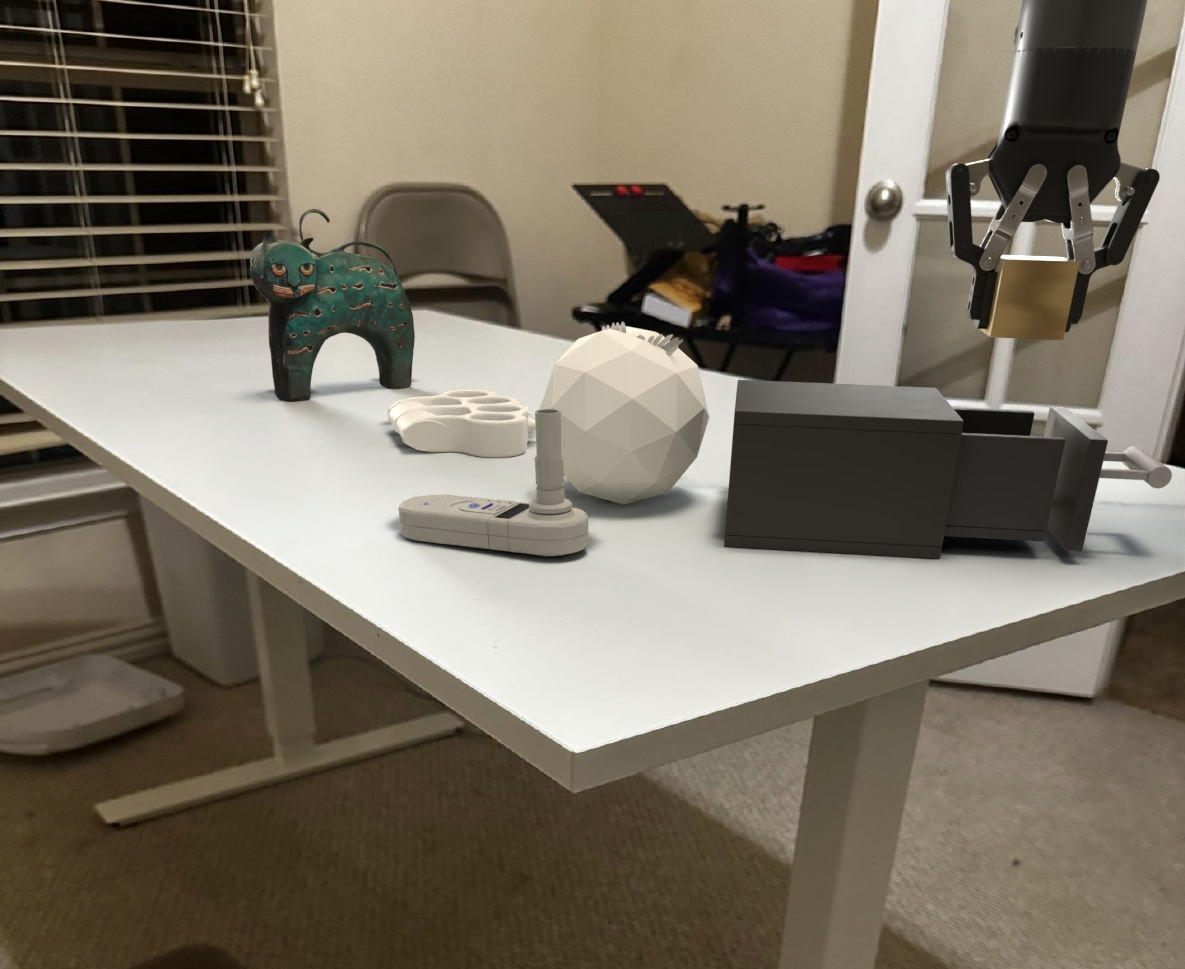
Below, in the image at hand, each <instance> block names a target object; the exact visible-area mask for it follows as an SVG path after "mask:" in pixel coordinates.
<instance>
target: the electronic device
mask: <svg viewBox="0 0 1185 969" xmlns="http://www.w3.org/2000/svg"><path fill="white" fill-rule="evenodd" d="M534 420H535V428H536V430H535V453H536V454H535V455H536V456H535V457H534V476H535V478H534V479H535V485H536V487H535V490H536V491H535V492H536V494H535V495H536V496H535V497H536V498H534V499H533V500H531V501H530V502H526V501H514V500H505V499H495V498H485V497H473V496H467V495H466V496H465V495H464V496H463V495H454V494H445V493H444V494H442V493H438V494H437V493H436V494H427V495H417V496H413V497H409V498H407V499H405V500H403V501H401V503H399V504H398V507H397V508H398V520H399V528H400V534H401V536H403V537H404V538H405V539H408V540H413V541H416V542H423V543H433V544H442V545H449V546H451V545H452V546H458V547H467V548H475V549H484V550H492V551H493V550H494V551H502V552H508V553H509V552H511V553H519V554H527V555H528V554H529V555H535V556H540V557H545V558H546V557H561V556H565V555H569V554H574V553H578V552H580V551H582V550H584V549H586V548H587V546H588V544H589V540H590V539H589V538H590V537H589V515H588V514H587V512H585V510H583V509H580V508H577V507H573V503H572V501H571V500H570V499H568V498H565V487H564V486H563V485H564V483H565V476H564V464H563V456H562V454H561V415H560V410H556V409H541V410H539V409H537V410H534Z"/></svg>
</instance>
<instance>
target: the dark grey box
mask: <svg viewBox="0 0 1185 969" xmlns="http://www.w3.org/2000/svg"><path fill="white" fill-rule="evenodd" d="M734 403H735V404H734V412H733V415H734V416H733V427H732V440H731V450H730V451H731V453H730V465H729V479H728V480H729V481H728V491H727V505H726V517H725V528H724V529H725V531H724V544H723V546H724V547H728V548H743V549H744V548H745V549H761V550H780V551H797V552H799V551H800V552H814V553H815V552H816V553H829V554H830V553H831V554H832V553H833V554H850V555H851V554H852V555H868V556H883V557H884V556H886V557H902V558H903V557H904V558H918V559H919V558H920V559H938V560H939V559H941V555H942V550H943V544H944V538H945V536H944V533H945V527H946V522H947V516H948V510H949V504H950V499H951V493H952V487H953V481H954V476H955V470H956V464H957V458H958V452H959V447H960V441H961V434H962V429H963V423H964V421H963V420H962V419H961V417H960V416H959V415H958V414H957V412H956V411H955V410H954V409H953V408H954V407H953V406H952V405H951V404H950V403H949V401H948V400H947V399H946V398H945V397H944V396H943V394H942V393H941V392H940V391H939V389H938V388H937V387H923V386H899V385H877V384H876V385H874V384H853V383H852V384H851V383H828V382H827V383H826V382H805V381H803V382H802V381H781V380H780V381H779V380H778V381H777V380H754V379H753V380H752V379H737V383H736V392H735V402H734ZM952 407H953V408H952Z"/></svg>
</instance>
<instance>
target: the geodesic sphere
mask: <svg viewBox="0 0 1185 969" xmlns="http://www.w3.org/2000/svg"><path fill="white" fill-rule="evenodd" d="M673 336H674V334H672V333H670V334H668V335H666V336H664V335H663V333H659V332H657V331H653V330H648V329H644V328H638V327H632V326H627V325H626V323H625V321H621V323H619V322H616V323H615V322H612V323H611V326H610V325H609V324H607V325H606V327H605V326H604V325H603V326H602V327H601V330H600V331H597V332H594V333H591V334H588V335H585V336H582V337H579V338H577V339H576V340H575V341H574V342H573V343H572V344H571V346H570V347H569V348H568V349H567V350H566V351H565V352H563V354H562V356H561V357H559V358H558V360H557V361H555V363H554V364H553V368H552V371H551V374H550V376H549V379H548V383H547V385H546V389H545V392H544V394H543V397H542V400H541V404H540V406H539V409H538V410H541V409H556V410H560V415H561V454H562V456H563V464H564V478H566V480H567V481H568V482H569V483H570V484H571V485H572V486H573V487H574V488H575V489H576V490H577V491H578V492H579V493H582V494H585V495H588V496H592V497H596V498H599V499H603V500H606V501H610V502H613V503H617V504H620V505H624V506H625V505H628V504H632V503H635V502H638V501H642V500H645V499H646V500H647V499H649V498H652V497H656V496H659V495H663V494H667V493H669V492H670V491H671V490H672V489H673V487H674V486H675V485H676V484H677V483H678V481H679V480H680V479H681V478H682V476H684V474H685V473H686V471H687V470H688V469H689V468H690V466H691V465H692V464H693V463H694V462H695V460H696V459H697V458H698V455H699V452H700V449H701V447H702V442H703V440H704V436H705V433H706V430H707V426H708V423H709V420H710V413H709V408H708V404H707V400H706V396H705V391H704V387H703V381H702V378H701V377H702V376H701V374H700V370H699V369H700V368H699V365H698V364H697V363H696V362H695V361H694V360H692V359H691V358H690V357H689V356H688V355H687V354H686V353H685V352H683V351H682V350H681V349H680V348H679V345H681V344H682V343H683V341H684V339H680V337H674V338H673Z"/></svg>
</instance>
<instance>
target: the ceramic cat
mask: <svg viewBox="0 0 1185 969" xmlns="http://www.w3.org/2000/svg"><path fill="white" fill-rule="evenodd" d="M313 213H314V214H318V215H320V216H321V217H322V218H324V220H325V221H326V222H327V224H329V223H330V222H331V220H330V218H329V215H327V213H326V212H325V211H323V210H321V209H318V208H311V209H308V210H306V211H304V212H303V213H302V214H301V215H300V218H299V220H298V225H299V226H298V232H299V238H300V240H299V241H296V242H295V241H294V242H291V241H287V240H282V239H278V238H277V237H276V236H275V235H274V233H273V231H272V230H271V229H268V230H267V231H266V232H265V233H264V235H263V236H264V237H263V239H262V242H261V243H259V244H257V245H256V246H255V247H254V248H253V249H252V251H251V254H250V258H249V260H250V262H249V263H250V265H249V271H250V272H249V273H250V278H251V281H252V284H253V285H254V287H255V289H256V290H257V291H258V293H260V295H261V296H262V297H264V298H265V299H266V301H267V303H268V314H267V315H268V321H267V322H268V332H267V333H268V334H267V336H268V347H269V353H270V362H271V369H272V370H271V372H272V380H273V388H274V394H275V397H276V398H278V399H280V400H282V401H287V402H297V401H305V400H310V398H311V391H312V390H311V389H312V388H311V384H312V378H313V376H312V375H313V369H314V365H315V363H316V359H317V357H318V355H319V353H320V350H321V349H322V347H323V345H324V344H325V342H326V341H327V340H328V339H329V338H332V337H334V336H336V335H339V334H352V335H355V336H358V337H359V338H362V339H363V340H364V341H366V342H367V343H368V344H369V346H371V348H372V349H373V351H374V355H375V360H376V363H377V369H378V381H379V385H380V386H381V387H385V388H387V389H405V388H409V387H411V386H412V378H413V376H412V375H413V359H414V348H415V341H416V340H415V338H416V336H415V335H416V334H415V333H416V332H415V323H414V315H413V310H412V307H411V303H410V300H409V298H408V297H407V294H406V291H405V289H404V286H403V284H402V282H401V280H400V278H399V275H398V271H397V267H396V265H395V262H394V259H393V258H392V256H391V255H390V253H389V252H388V251H387V250H386V248H384V247H382V246H379V245H378V244H375V243H372V242H367V241H360V240H355V241H350V242H347V243H344V244H342V245H340V246H338V247H335V248H333V249H330V250H329V251H326V252H319V251H317V250H314V249H312V248H311V247H310V245H311V244H312V242H313V241H314V237H306V238H304V236H303V231H302V230H303V229H302V225H303V221H304V219H305V218H306V216H307V215H309V214H313ZM352 246H364V247H368V248H372V249H374V250H377V251H379V252H380V253H382V254H383V256H385V258H386V259H387V260H388V261H389V263H390V265H391V268H392V269H391V268H390V267H389V266H387V265H386V264H384V263H383V262H382V261H380V260H379V259H377V258H375V257H371V256H369V255H364V254H359V253H352V252H347V251H345V250H346V249H347V248H349V247H352Z"/></svg>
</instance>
